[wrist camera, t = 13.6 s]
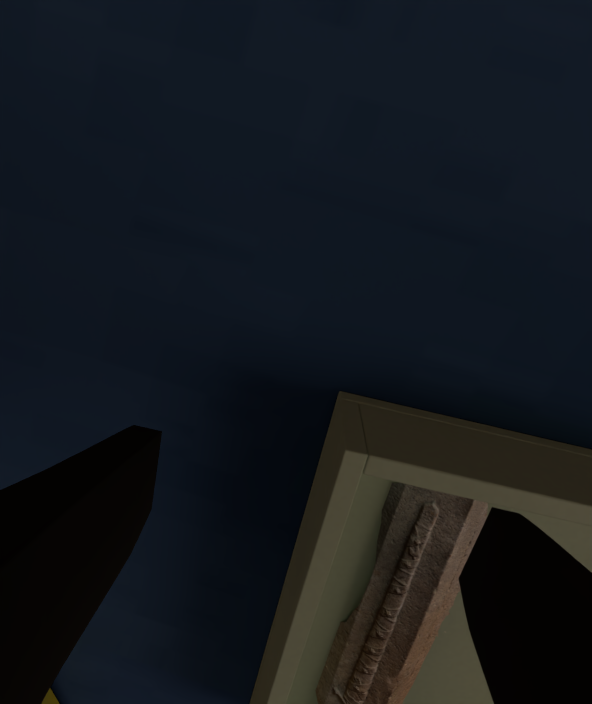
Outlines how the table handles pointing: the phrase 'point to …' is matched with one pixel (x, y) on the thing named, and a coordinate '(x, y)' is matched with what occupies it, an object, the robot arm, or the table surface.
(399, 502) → the sword-carved stone slab
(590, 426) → the table surface
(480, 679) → the cream square tray
